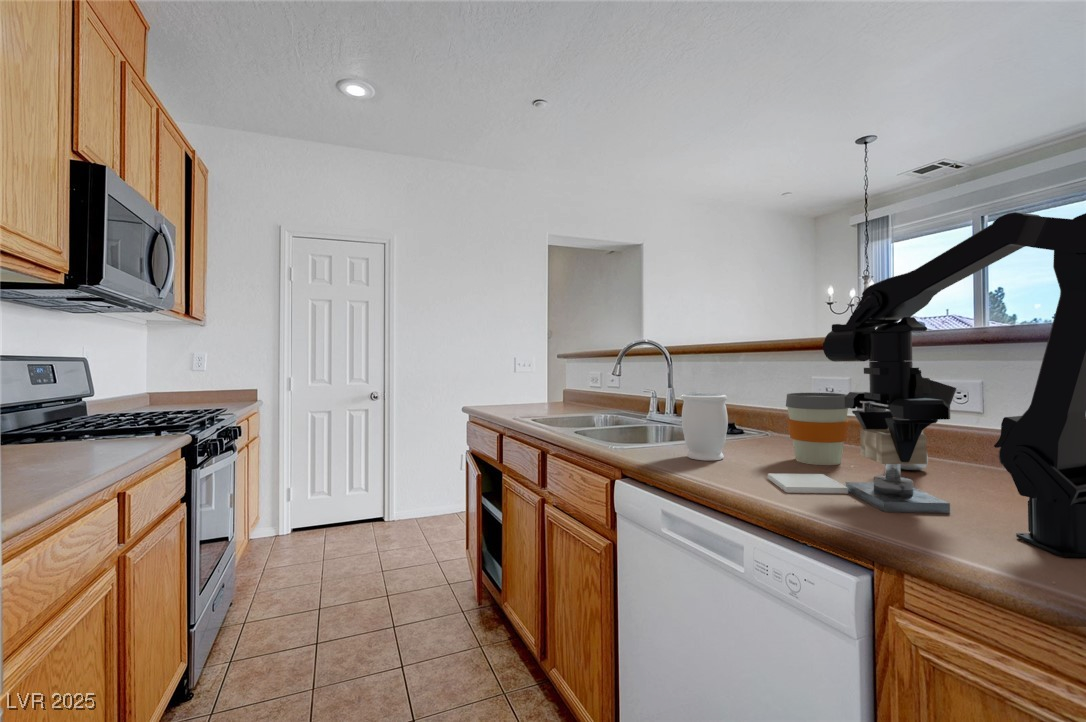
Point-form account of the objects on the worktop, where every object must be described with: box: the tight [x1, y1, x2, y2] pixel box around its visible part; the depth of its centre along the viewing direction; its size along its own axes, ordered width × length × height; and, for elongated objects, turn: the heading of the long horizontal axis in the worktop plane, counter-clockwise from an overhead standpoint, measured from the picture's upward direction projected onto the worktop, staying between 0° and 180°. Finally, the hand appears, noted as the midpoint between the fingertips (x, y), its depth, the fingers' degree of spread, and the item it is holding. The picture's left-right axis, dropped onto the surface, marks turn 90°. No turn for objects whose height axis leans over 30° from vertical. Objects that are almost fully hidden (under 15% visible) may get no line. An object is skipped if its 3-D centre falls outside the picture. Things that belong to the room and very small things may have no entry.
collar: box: [859, 428, 928, 465], centre depth 78 cm, size 6×6×4 cm
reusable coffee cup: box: [785, 392, 849, 466], centre depth 109 cm, size 13×13×15 cm
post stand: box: [845, 464, 951, 514], centre depth 78 cm, size 12×9×9 cm
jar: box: [680, 393, 729, 462], centre depth 115 cm, size 11×10×15 cm
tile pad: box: [767, 472, 849, 495], centre depth 88 cm, size 10×10×1 cm
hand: (892, 457), depth 78 cm, fingers closed on collar, 6 cm apart
